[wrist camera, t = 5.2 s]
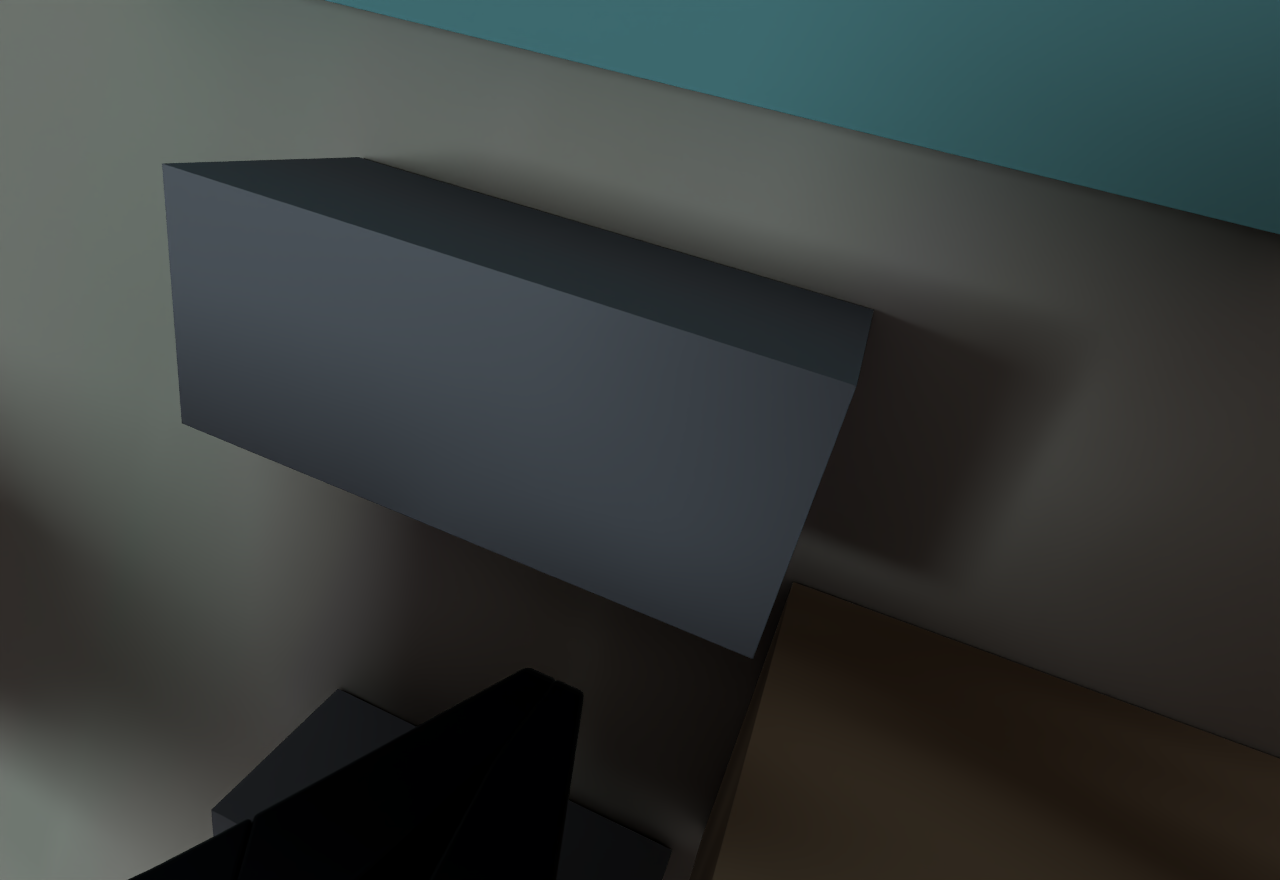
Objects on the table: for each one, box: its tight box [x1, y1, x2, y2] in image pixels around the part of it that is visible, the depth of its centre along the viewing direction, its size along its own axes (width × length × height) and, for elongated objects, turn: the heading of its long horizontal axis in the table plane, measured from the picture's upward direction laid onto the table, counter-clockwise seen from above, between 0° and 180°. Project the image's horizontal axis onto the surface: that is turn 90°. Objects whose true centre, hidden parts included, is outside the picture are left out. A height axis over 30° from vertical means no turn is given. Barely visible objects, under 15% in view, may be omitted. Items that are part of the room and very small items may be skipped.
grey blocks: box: [162, 157, 874, 880], centre depth 9 cm, size 6×11×2 cm, turn 167°
